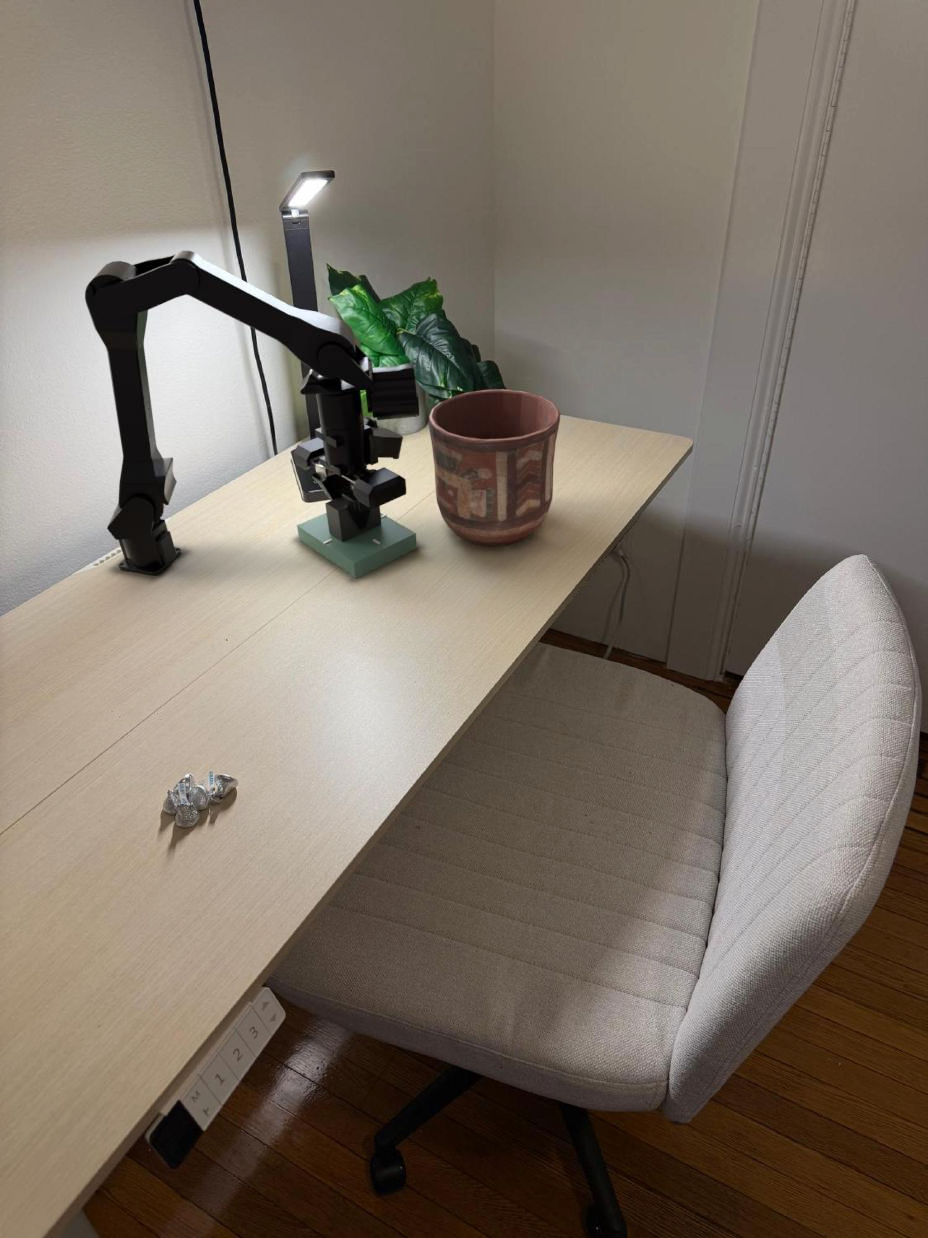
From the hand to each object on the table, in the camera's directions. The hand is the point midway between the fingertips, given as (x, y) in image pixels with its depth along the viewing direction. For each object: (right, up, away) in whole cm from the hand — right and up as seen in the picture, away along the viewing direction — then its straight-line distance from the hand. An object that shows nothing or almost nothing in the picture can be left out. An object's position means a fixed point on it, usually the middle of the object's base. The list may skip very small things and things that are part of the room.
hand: (355, 523), depth 117 cm
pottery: (+20, 0, +5) cm, 21 cm away
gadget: (0, -1, +1) cm, 1 cm away
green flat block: (0, -3, +2) cm, 4 cm away
